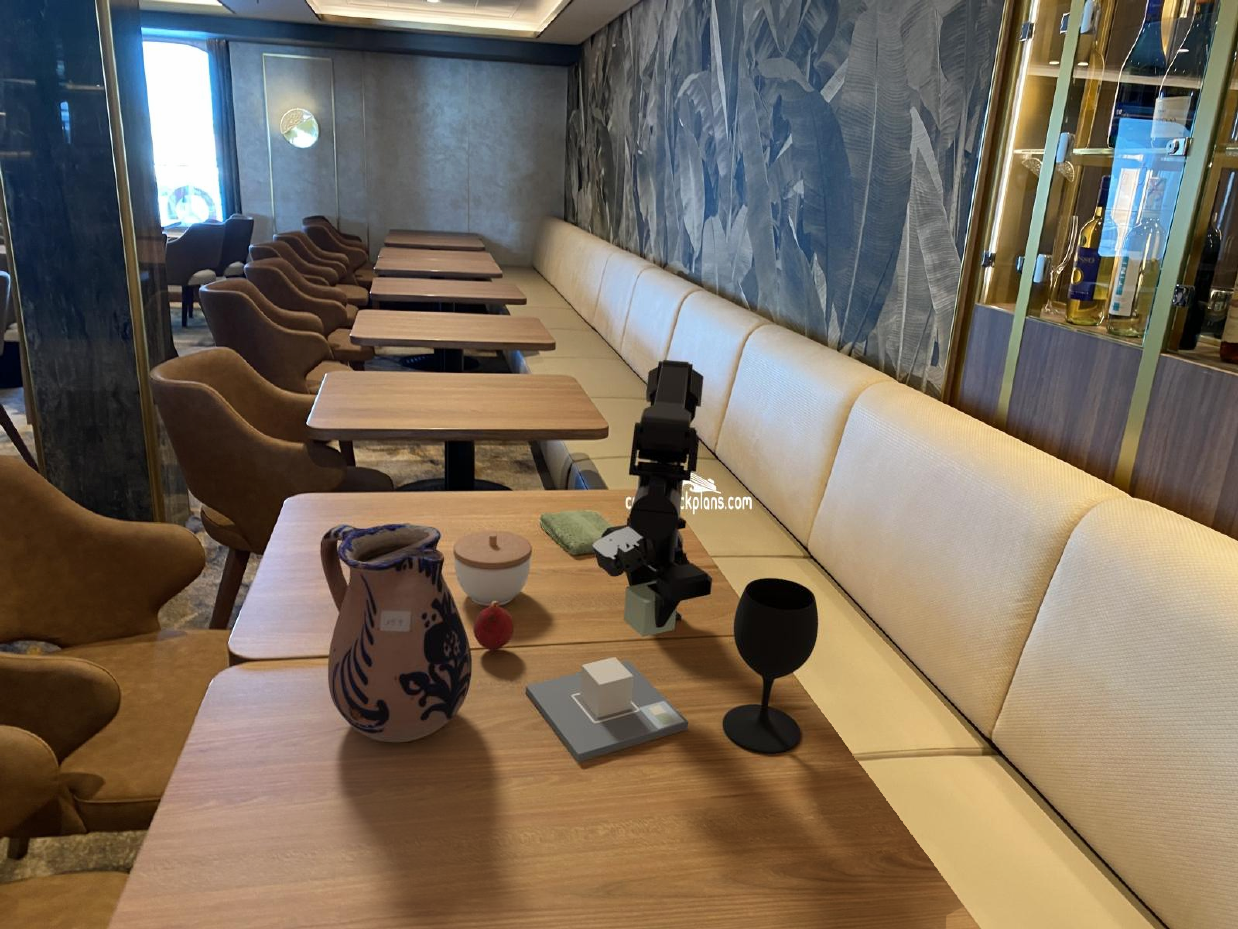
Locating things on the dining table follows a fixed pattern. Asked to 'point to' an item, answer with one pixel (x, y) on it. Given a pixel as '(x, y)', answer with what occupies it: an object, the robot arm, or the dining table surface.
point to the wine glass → (771, 658)
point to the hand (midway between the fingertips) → (649, 618)
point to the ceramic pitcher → (394, 632)
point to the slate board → (608, 732)
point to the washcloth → (575, 529)
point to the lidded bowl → (492, 565)
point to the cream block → (606, 687)
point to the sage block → (644, 611)
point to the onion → (493, 627)
